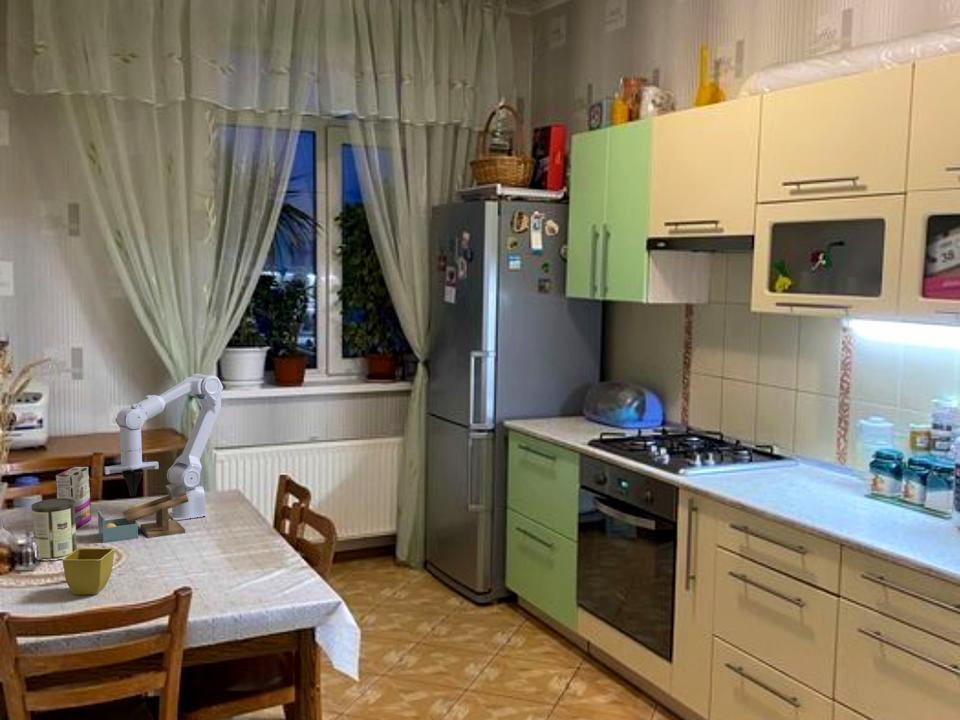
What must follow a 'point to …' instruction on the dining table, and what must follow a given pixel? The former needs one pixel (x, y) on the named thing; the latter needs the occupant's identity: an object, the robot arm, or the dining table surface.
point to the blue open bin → (116, 529)
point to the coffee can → (54, 527)
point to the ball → (110, 525)
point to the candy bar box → (76, 492)
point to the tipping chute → (157, 503)
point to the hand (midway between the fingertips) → (132, 495)
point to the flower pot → (88, 569)
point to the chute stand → (162, 525)
